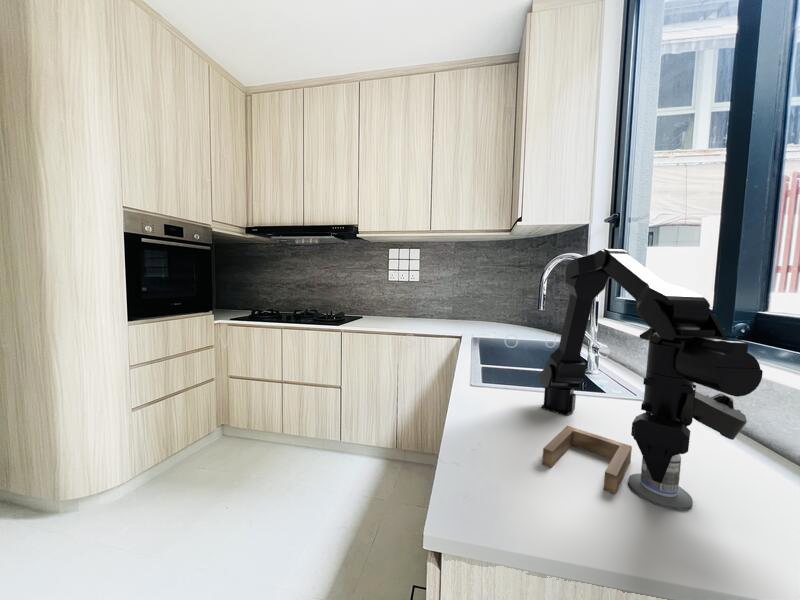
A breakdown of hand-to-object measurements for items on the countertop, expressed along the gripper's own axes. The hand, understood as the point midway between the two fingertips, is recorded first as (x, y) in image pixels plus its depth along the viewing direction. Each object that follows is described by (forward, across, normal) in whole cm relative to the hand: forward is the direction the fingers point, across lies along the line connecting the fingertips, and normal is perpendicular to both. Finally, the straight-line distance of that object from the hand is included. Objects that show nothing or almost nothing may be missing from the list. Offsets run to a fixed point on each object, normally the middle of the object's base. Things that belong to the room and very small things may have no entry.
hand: (660, 469), depth 51 cm
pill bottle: (+3, 0, 0) cm, 3 cm away
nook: (+4, +1, +10) cm, 11 cm away
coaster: (+4, 0, 0) cm, 4 cm away
